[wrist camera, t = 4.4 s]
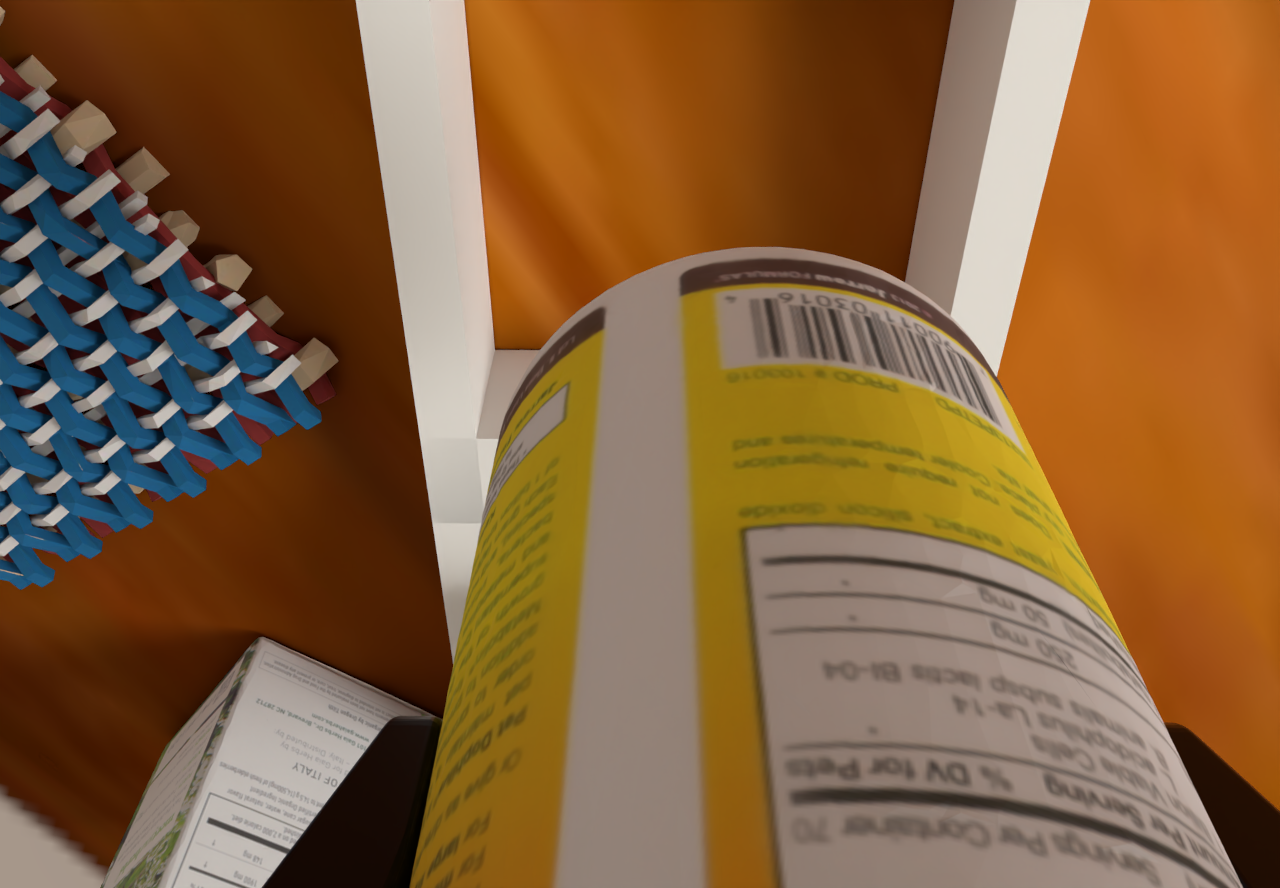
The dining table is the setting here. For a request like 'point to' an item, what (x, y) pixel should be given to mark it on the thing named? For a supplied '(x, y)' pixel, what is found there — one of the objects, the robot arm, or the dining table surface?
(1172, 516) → the dining table surface
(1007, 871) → the supplement bottle
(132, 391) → the woven mat
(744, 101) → the dining table surface
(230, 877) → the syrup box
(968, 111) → the grey divided tray
